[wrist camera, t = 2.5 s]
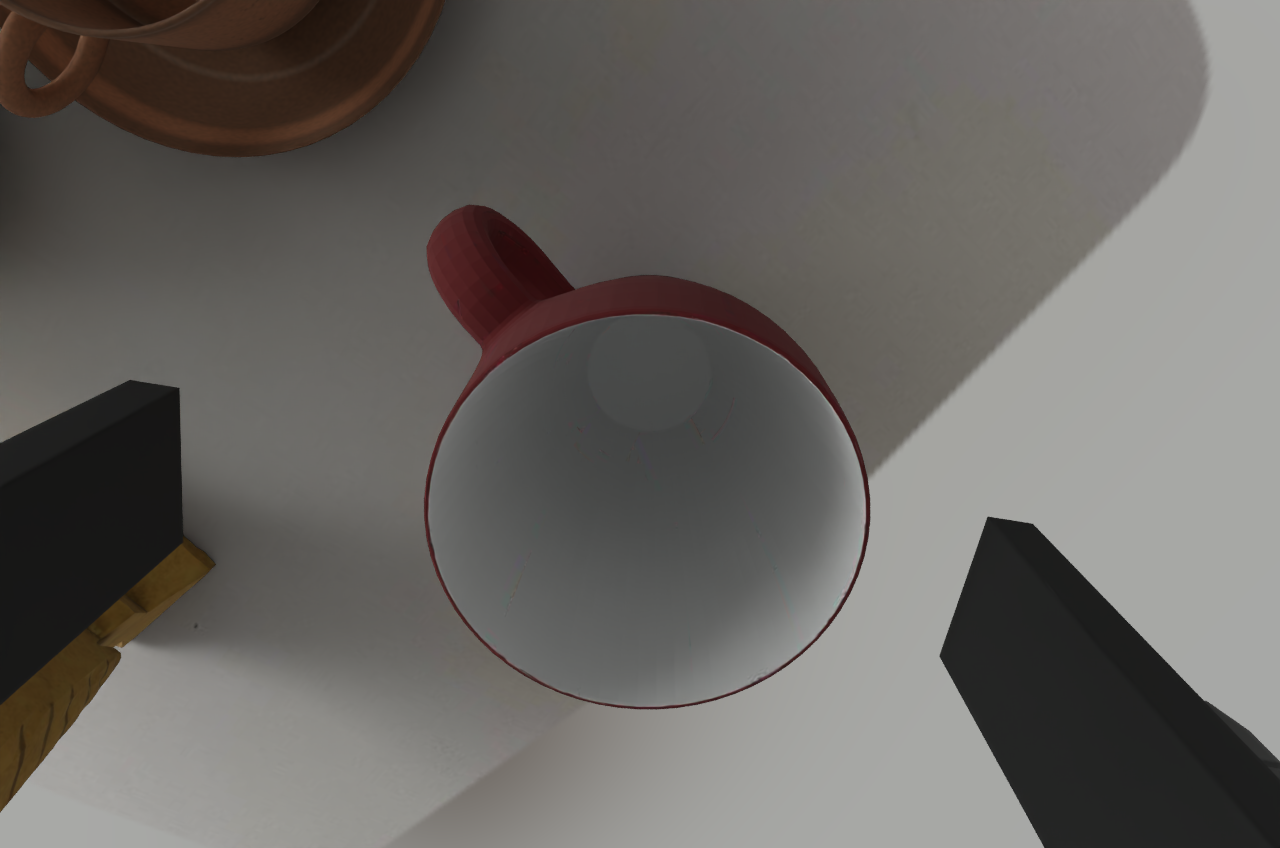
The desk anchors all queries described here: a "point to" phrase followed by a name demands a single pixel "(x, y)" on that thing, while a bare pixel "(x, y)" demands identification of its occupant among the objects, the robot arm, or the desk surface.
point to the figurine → (86, 668)
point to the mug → (635, 479)
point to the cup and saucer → (213, 65)
